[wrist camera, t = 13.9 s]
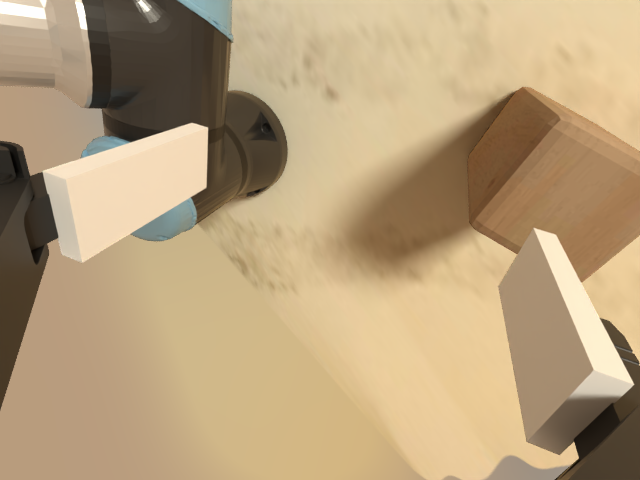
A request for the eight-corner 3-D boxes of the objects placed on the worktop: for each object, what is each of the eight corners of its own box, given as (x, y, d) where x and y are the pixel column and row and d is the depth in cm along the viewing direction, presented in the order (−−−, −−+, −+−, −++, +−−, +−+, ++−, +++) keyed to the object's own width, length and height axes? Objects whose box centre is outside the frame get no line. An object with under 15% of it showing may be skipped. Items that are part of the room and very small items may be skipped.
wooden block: (463, 159, 45) (464, 228, 29) (520, 82, 40) (561, 111, 23) (534, 200, 45) (576, 294, 28) (602, 127, 39) (704, 191, 23)
